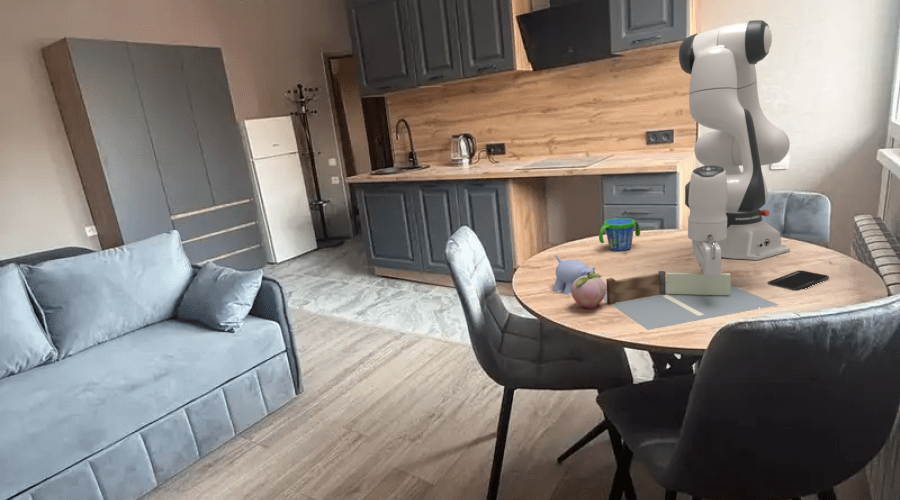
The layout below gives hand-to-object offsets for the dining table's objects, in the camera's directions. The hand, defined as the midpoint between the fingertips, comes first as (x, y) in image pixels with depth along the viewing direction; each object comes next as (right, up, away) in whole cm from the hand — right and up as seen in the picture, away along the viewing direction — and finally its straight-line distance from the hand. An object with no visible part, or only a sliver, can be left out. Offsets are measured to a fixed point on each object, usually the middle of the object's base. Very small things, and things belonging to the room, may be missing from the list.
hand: (706, 282), depth 130 cm
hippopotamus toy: (-30, -4, +14) cm, 33 cm away
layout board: (-8, -5, -2) cm, 9 cm away
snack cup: (-6, +9, +49) cm, 50 cm away
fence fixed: (-18, -4, +2) cm, 18 cm away
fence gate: (-3, -3, -1) cm, 4 cm away
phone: (+25, -1, +1) cm, 25 cm away
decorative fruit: (-31, -7, 0) cm, 32 cm away
